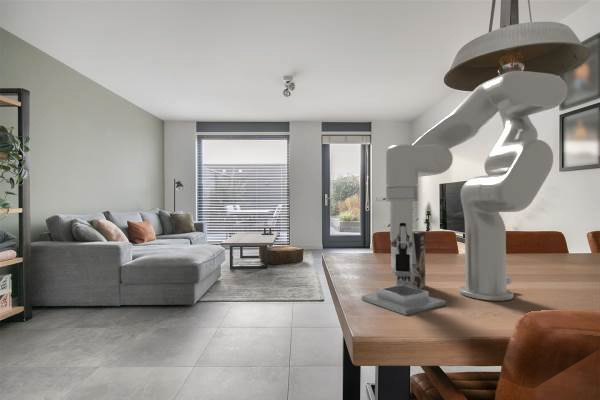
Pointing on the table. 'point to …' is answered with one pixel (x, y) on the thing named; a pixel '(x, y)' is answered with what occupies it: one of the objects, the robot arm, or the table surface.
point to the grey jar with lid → (393, 260)
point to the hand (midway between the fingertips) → (402, 268)
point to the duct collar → (403, 299)
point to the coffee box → (416, 263)
